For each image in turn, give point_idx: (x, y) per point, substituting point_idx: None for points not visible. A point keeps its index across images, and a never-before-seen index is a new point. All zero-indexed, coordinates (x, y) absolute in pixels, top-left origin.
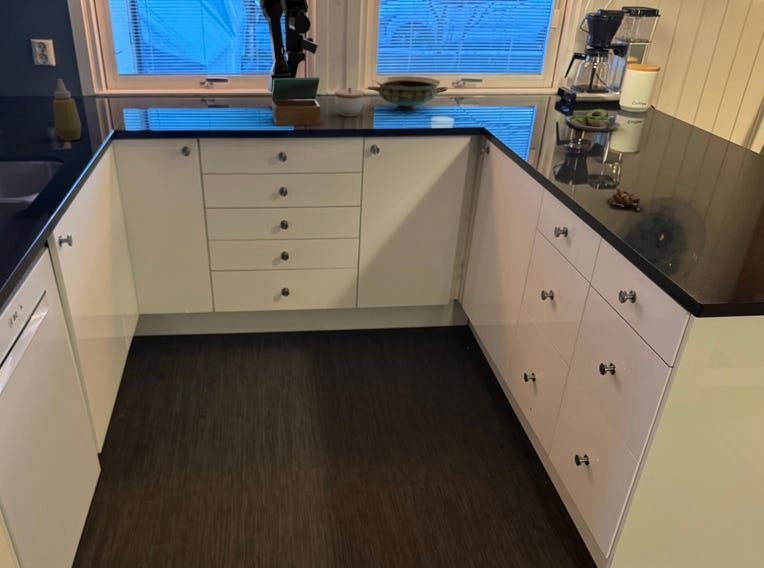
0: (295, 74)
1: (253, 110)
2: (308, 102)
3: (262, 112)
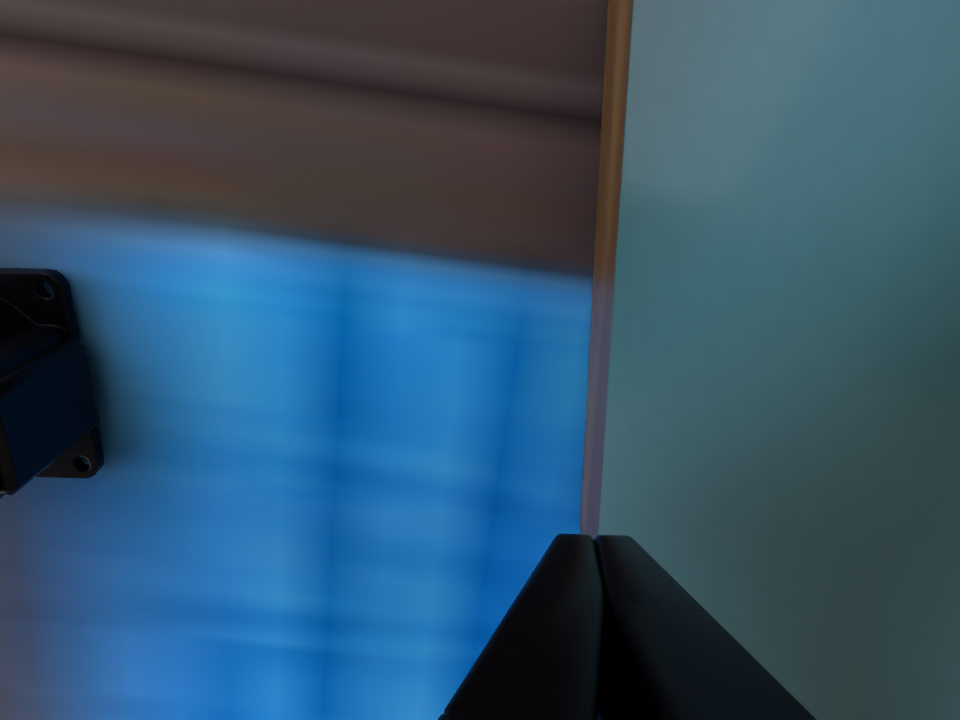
0: (705, 633)
1: (161, 655)
2: None
3: (260, 586)
